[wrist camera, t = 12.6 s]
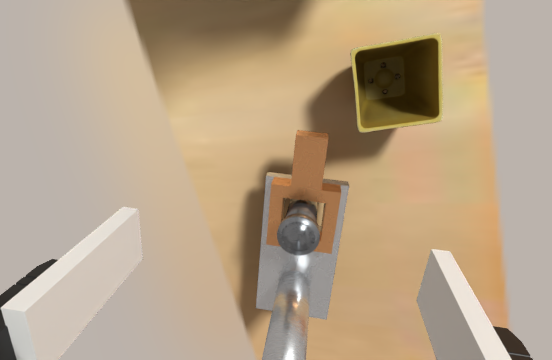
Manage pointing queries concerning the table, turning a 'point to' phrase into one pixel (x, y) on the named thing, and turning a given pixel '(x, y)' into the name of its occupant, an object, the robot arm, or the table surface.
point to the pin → (299, 228)
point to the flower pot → (398, 83)
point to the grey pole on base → (292, 268)
